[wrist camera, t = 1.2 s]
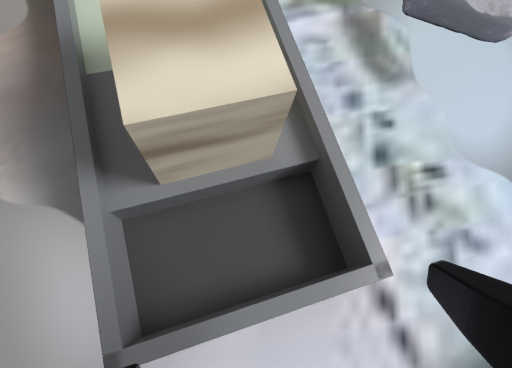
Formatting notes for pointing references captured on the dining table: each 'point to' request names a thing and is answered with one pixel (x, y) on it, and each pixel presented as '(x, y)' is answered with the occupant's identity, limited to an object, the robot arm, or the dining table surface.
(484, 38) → the stone block
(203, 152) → the birch block
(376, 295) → the dining table surface
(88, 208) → the grey shallow rectangular tray
